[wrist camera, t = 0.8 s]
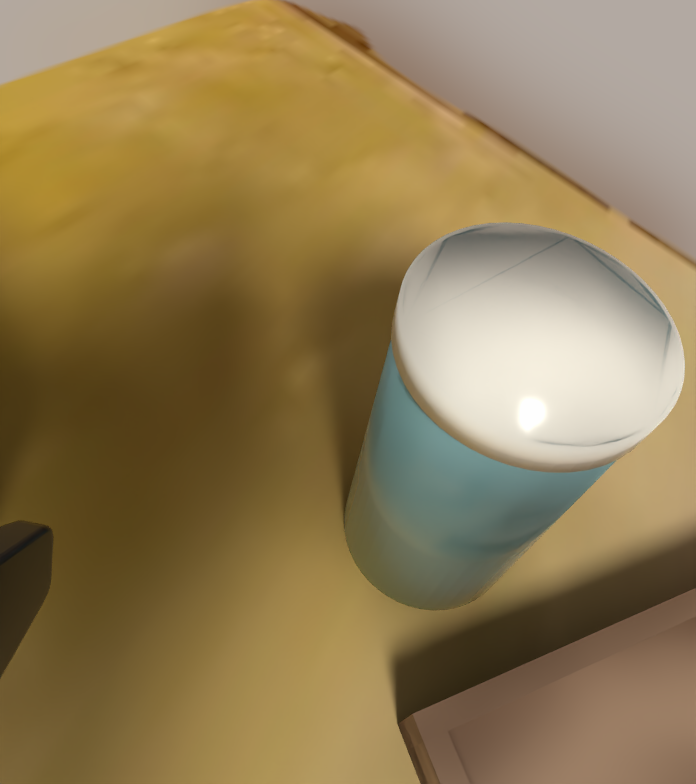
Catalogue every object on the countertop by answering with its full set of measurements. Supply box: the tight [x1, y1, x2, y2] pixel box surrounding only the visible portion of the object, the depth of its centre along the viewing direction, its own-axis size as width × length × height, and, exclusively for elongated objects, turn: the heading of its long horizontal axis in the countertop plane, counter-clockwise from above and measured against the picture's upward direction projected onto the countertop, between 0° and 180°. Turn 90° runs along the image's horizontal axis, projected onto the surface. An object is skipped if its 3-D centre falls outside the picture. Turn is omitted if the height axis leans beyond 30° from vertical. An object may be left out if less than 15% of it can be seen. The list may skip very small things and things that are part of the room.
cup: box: [344, 223, 685, 610], centre depth 20 cm, size 7×7×12 cm
